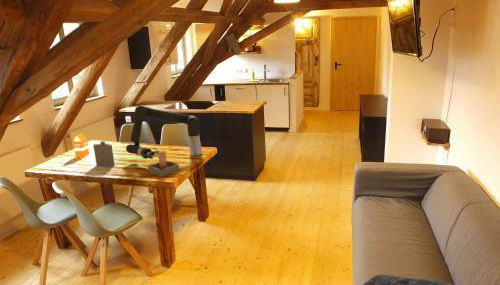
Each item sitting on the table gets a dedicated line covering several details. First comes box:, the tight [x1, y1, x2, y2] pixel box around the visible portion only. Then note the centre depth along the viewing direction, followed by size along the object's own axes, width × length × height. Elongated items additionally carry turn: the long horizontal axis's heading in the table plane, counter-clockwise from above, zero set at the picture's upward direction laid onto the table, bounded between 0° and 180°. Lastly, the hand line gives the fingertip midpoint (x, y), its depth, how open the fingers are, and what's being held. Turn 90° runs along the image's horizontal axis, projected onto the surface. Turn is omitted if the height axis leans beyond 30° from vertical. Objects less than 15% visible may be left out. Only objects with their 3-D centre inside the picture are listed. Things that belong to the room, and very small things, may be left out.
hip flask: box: [92, 140, 115, 168], centre depth 292 cm, size 16×4×20 cm, turn 76°
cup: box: [157, 150, 168, 170], centre depth 274 cm, size 6×6×15 cm
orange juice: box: [72, 132, 90, 158], centre depth 319 cm, size 8×9×20 cm
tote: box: [147, 160, 180, 178], centre depth 275 cm, size 16×16×5 cm
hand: (157, 155), depth 277 cm, fingers open, 8 cm apart
